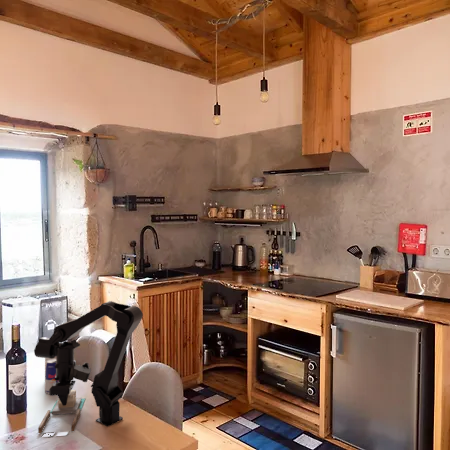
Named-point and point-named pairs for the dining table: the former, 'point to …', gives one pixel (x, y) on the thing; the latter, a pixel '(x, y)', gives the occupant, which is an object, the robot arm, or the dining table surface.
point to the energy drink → (50, 374)
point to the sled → (68, 404)
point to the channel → (49, 417)
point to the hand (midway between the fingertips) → (64, 405)
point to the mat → (79, 406)
